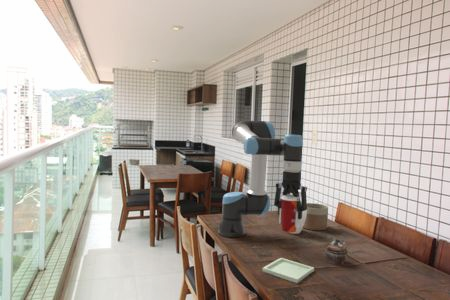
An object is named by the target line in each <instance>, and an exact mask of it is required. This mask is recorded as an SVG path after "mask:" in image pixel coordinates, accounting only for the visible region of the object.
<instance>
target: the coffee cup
mask: <svg viewBox="0 0 450 300" xmlns="http://www.w3.org/2000/svg"><path fill="white" fill-rule="evenodd" d="M281 196H282V197H281ZM281 196H280V199H281V202H282V223H281V231H282V232H284V233H288V232H290V233H289V234H293V233H292V232H296V227H295V220H296V211H298V210H297V201H299V197H294V196H293V195H292V194H290V193H288V195H282V194H281ZM297 199H298V200H297Z"/></svg>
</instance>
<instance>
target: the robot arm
mask: <svg viewBox="0 0 450 300" xmlns="http://www.w3.org/2000/svg"><path fill="white" fill-rule="evenodd" d="M274 126H275V125H274V124H273V123H272V122H271V121H266V120H240V121H239V122H236V123H235V124H234V125H233V127H232V129H231V136H232V138H233V139H234V140H235V141H237V142H240V143H241V144H242V145H243V151H244V154H246V155H251V162H250V163H251V164H250V165H251V167H250V179H249V180H250V181H249V189H248V190H247V191H246V194H244V193H243V192H241V191H232V192H227V193H225V194H224V195H223V196H222V210H221V211H222V212H221V221H220V223H219V227H218V232H217V233H218V234H219V235H220V236H222V237H226V238H240V237H243V236H245V234H246V230H245V226H244V222H243V216H265V215H267V213H268V212H269V209H270V207H271V198H270V195H268V192H267V191H266V175H267V164H268V163H267V161H268V156H283V161H282V163H283V165H282V170H283V171H282V182H278V183H276V184H275V189H276V190H275V193H274V196H275V197H274V200H273V201H274V202H273V205H274V206H275V207H277V216H278V217H279V218H278V224H281V225H282V202H281V197H282V195H288V194H290V193H292V194H293V196H294V197H299V191H298V190H301V196H300V197H299V201H297V210H298V211H296V220H295V227H299V226H300V219H302V211H305V210H307V201H308V199H307V190H308V187H307V186H304V185H302V183H301V178H302V176H301V175H302V173H301V171H302V159H303V157H302V156H303V136H302V135H301V134H285V136H284V138H276V131H275V130H276V129H275V127H274ZM282 189H283V190H282ZM297 200H298V199H297Z"/></svg>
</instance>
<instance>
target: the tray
mask: <svg viewBox="0 0 450 300" xmlns="http://www.w3.org/2000/svg"><path fill="white" fill-rule="evenodd" d="M314 271H315V267H313V266H310V265H307V264H303V263H300V262H297V261H294V260H290V259H286V258H284V257H280V258H278V259H276V260H274V261H272V262H270V263H269V264H267V265H265V266H264V267H262V272H263V273H266V274H268V275H271V276H274V277H277V278H279V279H280V278H281V279H283V280H286V281H288V282H291V283H295V284H299V283H300V282H301V281H302V280H305V278H306V277H308V276H309V275H311V274H312V273H313V272H314Z"/></svg>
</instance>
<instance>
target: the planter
mask: <svg viewBox="0 0 450 300" xmlns="http://www.w3.org/2000/svg"><path fill="white" fill-rule="evenodd" d="M328 217H329V206H327V205H325V204H322V203H321V204H320V203H314V202H313V203H312V202H309V203H307V216H306V220H305V223H304V226H303V228H304V229H306V230H309V231H316V232H317V231H324V230H327V228H328V221H329V219H328Z"/></svg>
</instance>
